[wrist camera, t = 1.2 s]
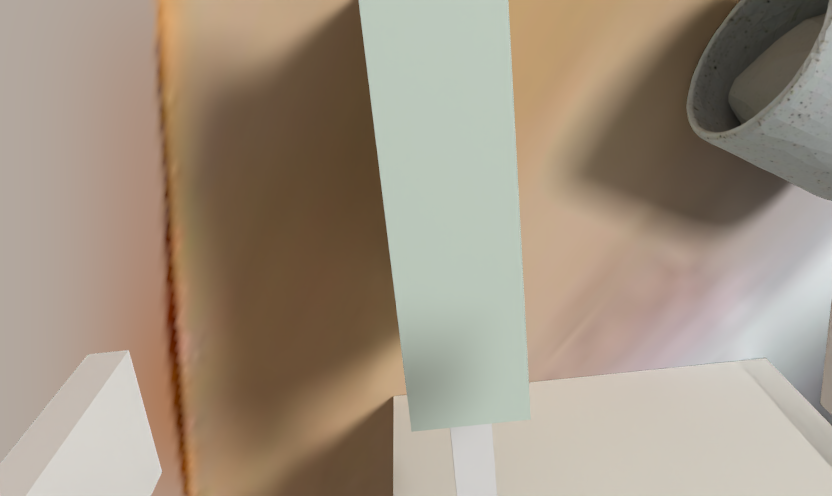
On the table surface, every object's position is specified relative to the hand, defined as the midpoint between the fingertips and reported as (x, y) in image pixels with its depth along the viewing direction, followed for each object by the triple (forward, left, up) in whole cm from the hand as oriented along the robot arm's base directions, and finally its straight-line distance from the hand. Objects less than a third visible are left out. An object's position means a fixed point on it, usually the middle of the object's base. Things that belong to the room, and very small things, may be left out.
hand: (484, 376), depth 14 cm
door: (0, 0, -21) cm, 21 cm away
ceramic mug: (-16, -2, -21) cm, 27 cm away
